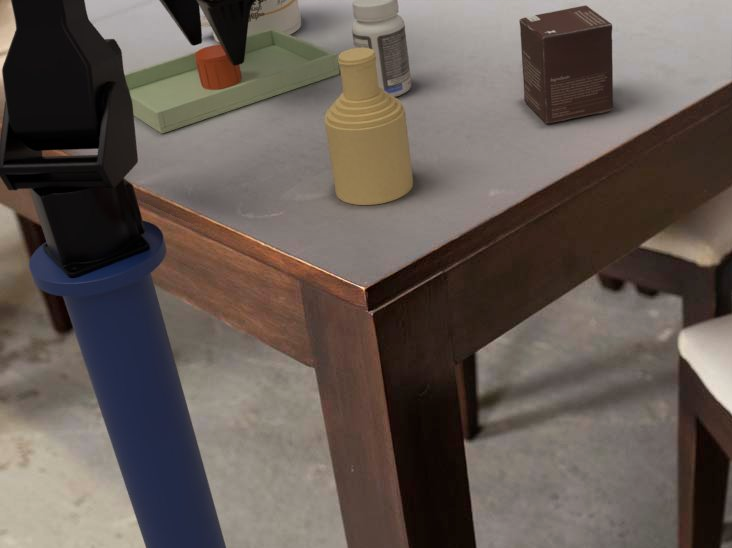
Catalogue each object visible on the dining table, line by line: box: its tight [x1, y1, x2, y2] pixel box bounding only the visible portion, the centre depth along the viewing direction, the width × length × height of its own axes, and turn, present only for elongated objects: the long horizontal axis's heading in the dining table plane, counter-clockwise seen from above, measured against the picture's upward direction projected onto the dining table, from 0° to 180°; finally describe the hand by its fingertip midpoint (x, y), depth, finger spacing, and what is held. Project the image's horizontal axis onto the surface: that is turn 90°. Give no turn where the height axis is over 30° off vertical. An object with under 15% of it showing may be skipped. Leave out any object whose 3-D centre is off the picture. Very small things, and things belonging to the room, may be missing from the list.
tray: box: [124, 28, 340, 135], centre depth 108 cm, size 19×13×2 cm
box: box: [518, 5, 614, 124], centre depth 91 cm, size 6×6×7 cm
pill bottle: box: [351, 0, 412, 98], centre depth 100 cm, size 5×5×8 cm
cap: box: [195, 43, 242, 90], centre depth 107 cm, size 4×4×3 cm
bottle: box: [324, 48, 414, 206], centre depth 82 cm, size 6×6×10 cm
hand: (216, 54), depth 106 cm, fingers open, 9 cm apart
